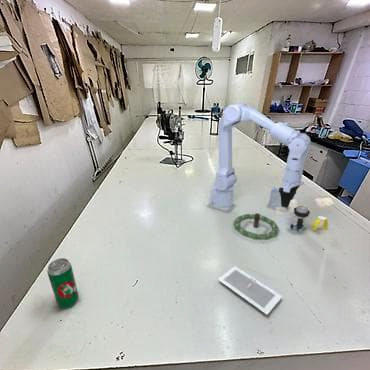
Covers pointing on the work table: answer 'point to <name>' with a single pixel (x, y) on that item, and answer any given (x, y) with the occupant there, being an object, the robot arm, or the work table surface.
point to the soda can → (63, 283)
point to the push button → (299, 218)
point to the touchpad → (251, 289)
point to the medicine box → (275, 198)
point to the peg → (256, 220)
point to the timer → (320, 218)
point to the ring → (252, 235)
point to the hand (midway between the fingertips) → (287, 202)
